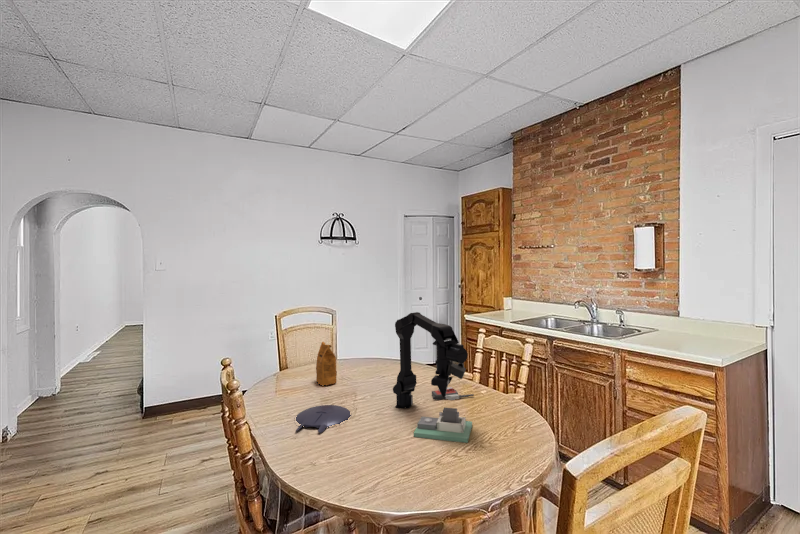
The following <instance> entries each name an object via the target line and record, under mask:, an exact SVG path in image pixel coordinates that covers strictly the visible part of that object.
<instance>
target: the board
mask: <svg viewBox="0 0 800 534" xmlns="http://www.w3.org/2000/svg"><path fill="white" fill-rule="evenodd" d="M466 418H467V417H462V416H459V423H449V422H443V416H441V415H439V417H434V416H433V417H431V416H421V417H420V419H419V421H418V422H417V424H416V425H417V426H416V428H415V430H414V432H413V437H414V438H421V439H423V438H424V439H429V440H430V439H431V440H440V441H446V442H447V441H448V442H457V443H465V444H468V443H469V439H470V436H471V432H472V428H473V420H472V421H469V420H466Z"/></svg>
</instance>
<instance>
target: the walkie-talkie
mask: <svg viewBox="0 0 800 534" xmlns="http://www.w3.org/2000/svg"><path fill="white" fill-rule="evenodd" d="M474 396H475V394H474V393H473V394H471V393H470V394H459V392H458V391H457V390H456V389H455V388H453V387H452V386H448V387H447V391H446V396H445V397H442V395H441V392H440V390H439V388H438V390H431V397H432V400H434V401H442V400H441V399H444V400H446V399H448V400H447V401H455V399H459V400H460V399H463V398H468V397H474Z"/></svg>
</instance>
